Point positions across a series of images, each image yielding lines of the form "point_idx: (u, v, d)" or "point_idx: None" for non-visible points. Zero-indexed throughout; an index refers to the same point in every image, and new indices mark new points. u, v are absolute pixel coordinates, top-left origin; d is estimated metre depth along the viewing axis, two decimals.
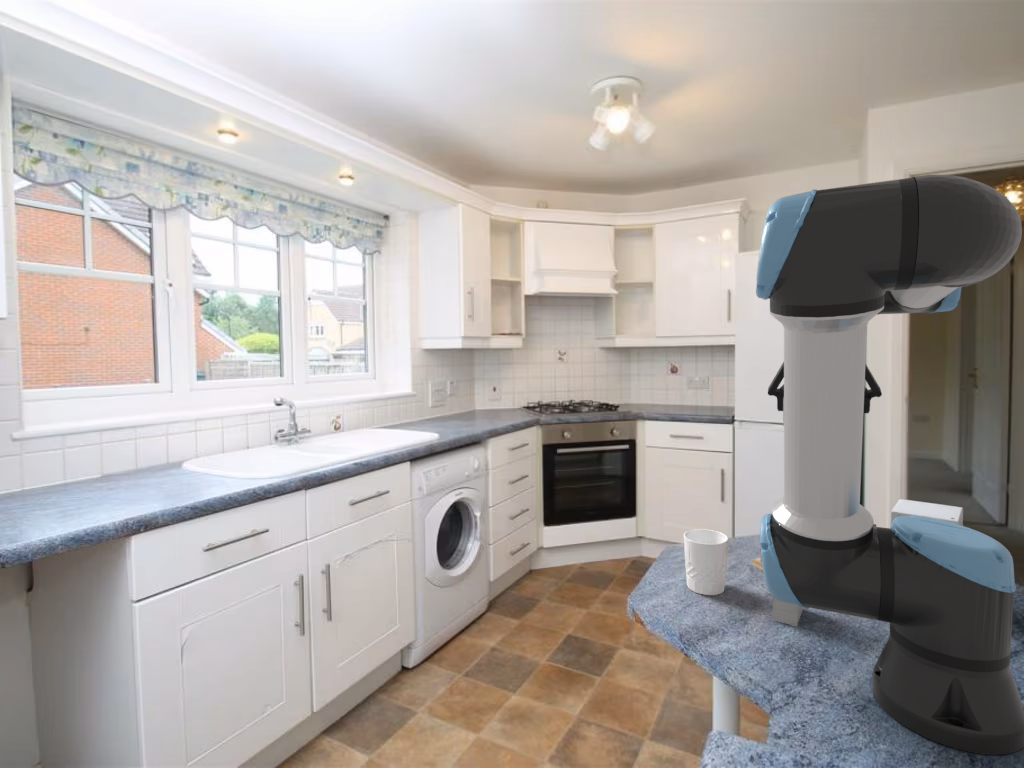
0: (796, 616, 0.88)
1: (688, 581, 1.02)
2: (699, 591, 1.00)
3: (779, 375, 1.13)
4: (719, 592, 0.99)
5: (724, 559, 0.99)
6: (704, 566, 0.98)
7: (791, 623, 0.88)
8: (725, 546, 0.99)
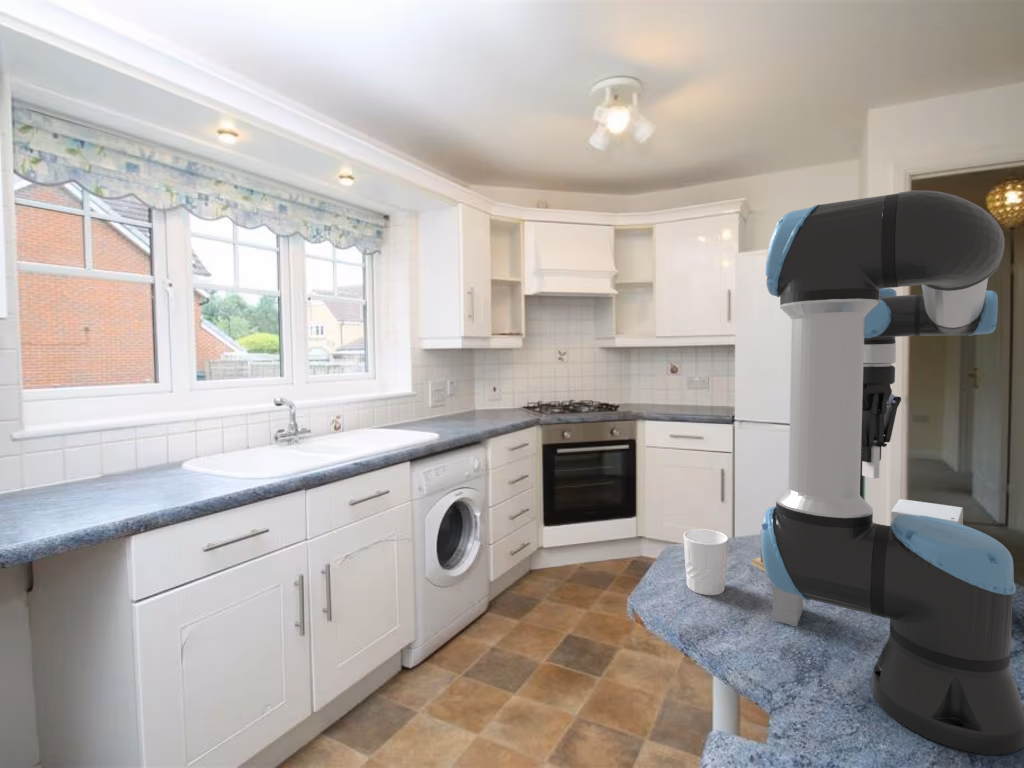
0: (796, 616, 0.88)
1: (688, 581, 1.02)
2: (699, 591, 1.00)
3: None
4: (719, 592, 0.99)
5: (724, 559, 0.99)
6: (704, 566, 0.98)
7: (791, 623, 0.88)
8: (725, 546, 0.99)
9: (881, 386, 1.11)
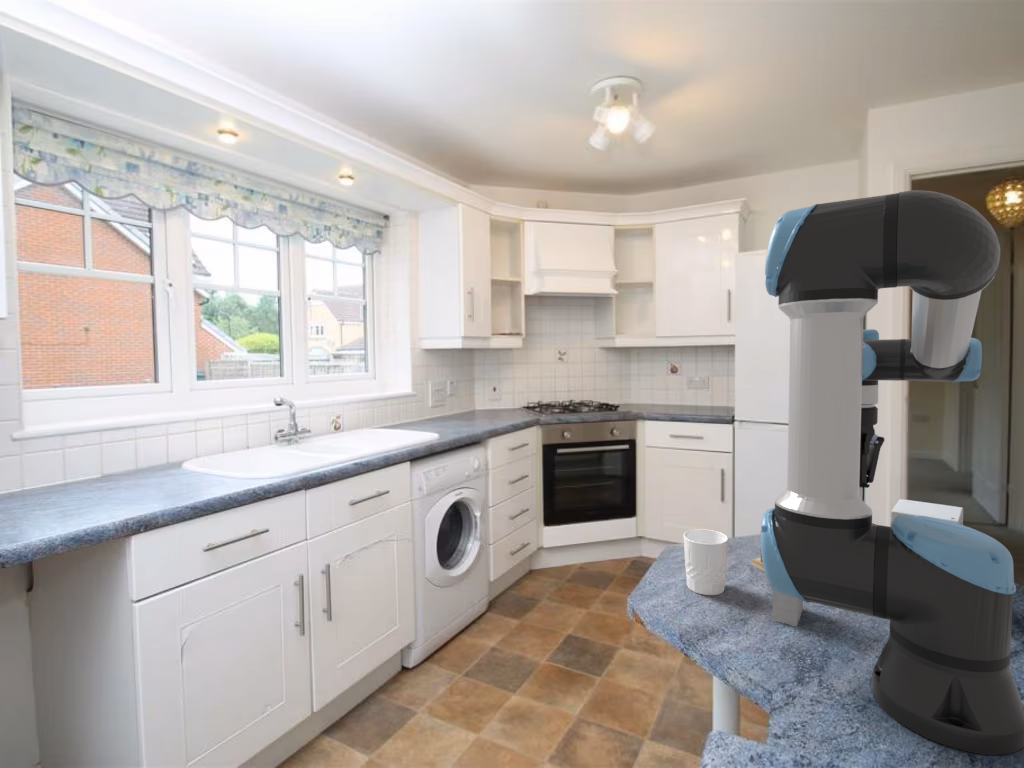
0: (796, 616, 0.88)
1: (688, 581, 1.02)
2: (699, 591, 1.00)
3: None
4: (719, 592, 0.99)
5: (724, 559, 0.99)
6: (704, 566, 0.98)
7: (791, 623, 0.88)
8: (725, 546, 0.99)
9: (864, 426, 1.10)
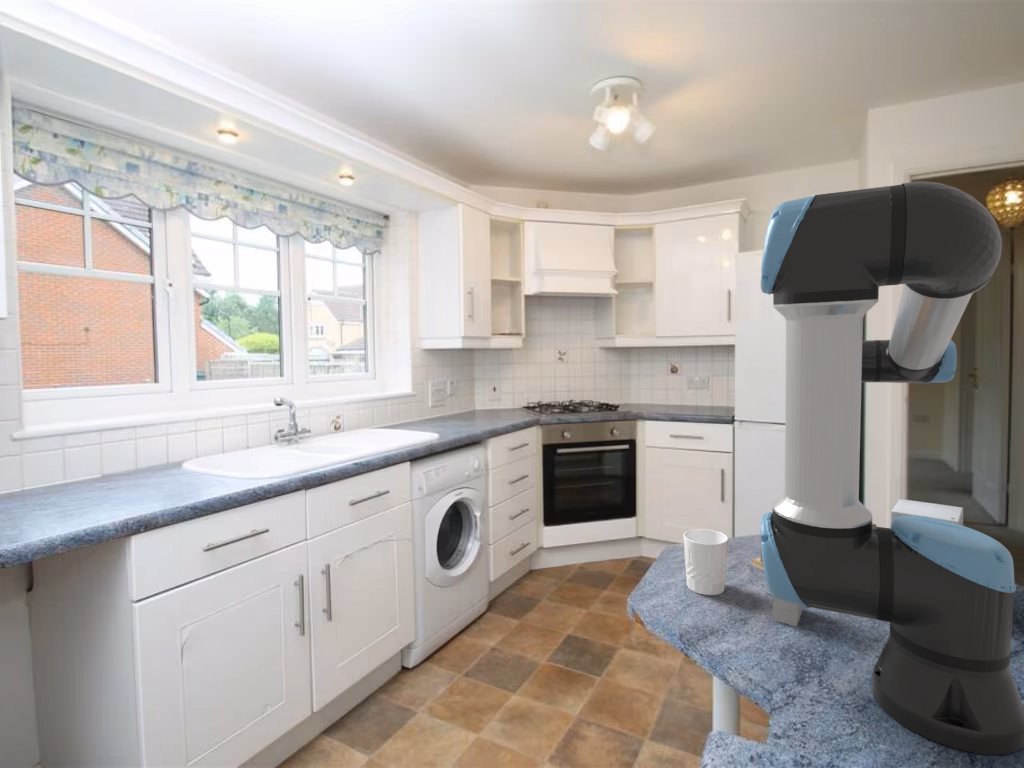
0: (796, 616, 0.88)
1: (688, 581, 1.02)
2: (699, 591, 1.00)
3: None
4: (719, 592, 0.99)
5: (724, 559, 0.99)
6: (704, 566, 0.98)
7: (791, 623, 0.88)
8: (725, 546, 0.99)
9: None
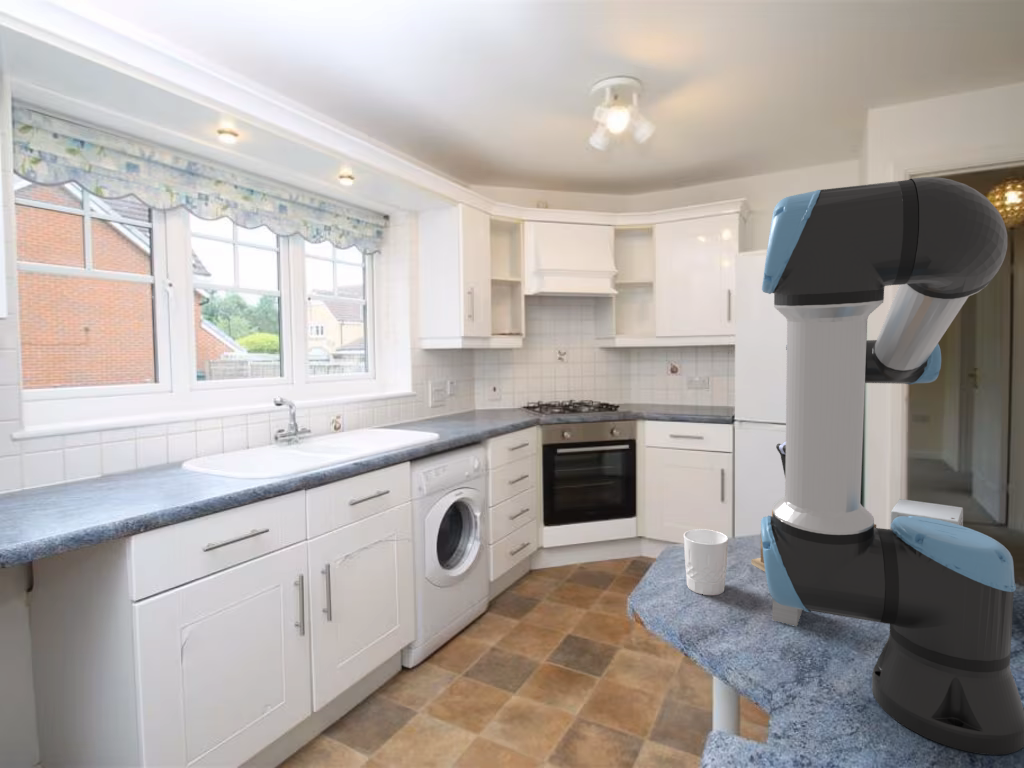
0: (796, 616, 0.88)
1: (688, 581, 1.02)
2: (699, 591, 1.00)
3: None
4: (719, 592, 0.99)
5: (724, 559, 0.99)
6: (704, 566, 0.98)
7: (791, 623, 0.88)
8: (725, 546, 0.99)
9: None
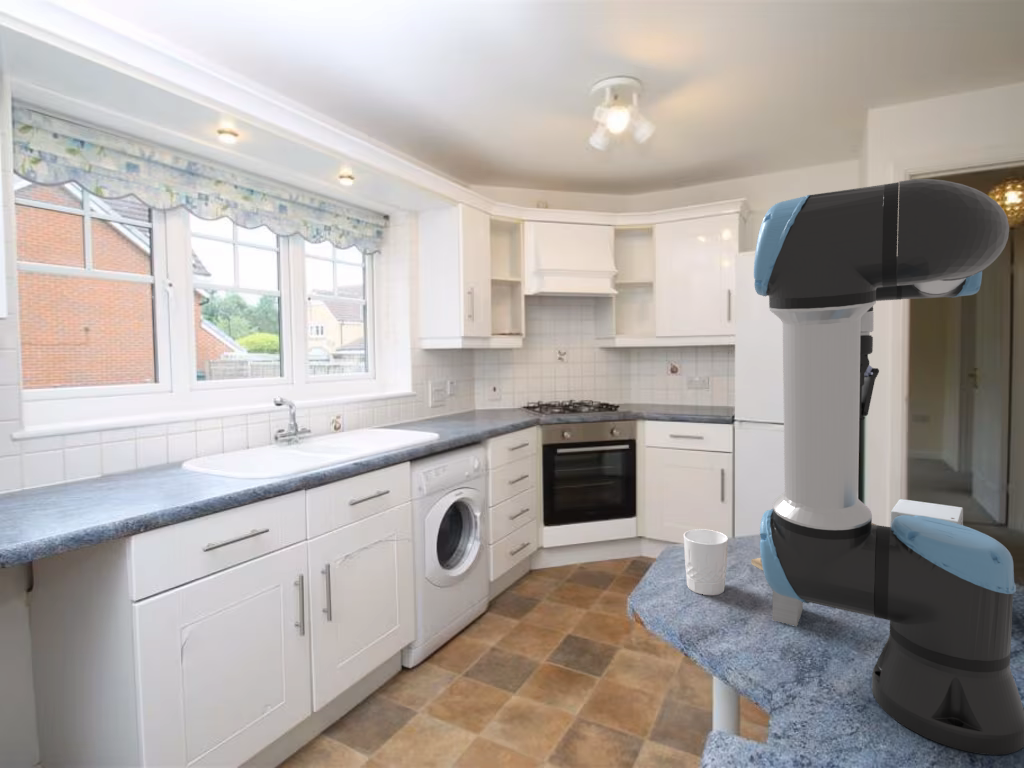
0: (796, 616, 0.88)
1: (688, 581, 1.02)
2: (699, 591, 1.00)
3: None
4: (719, 592, 0.99)
5: (724, 559, 0.99)
6: (704, 566, 0.98)
7: (791, 623, 0.88)
8: (725, 546, 0.99)
9: None
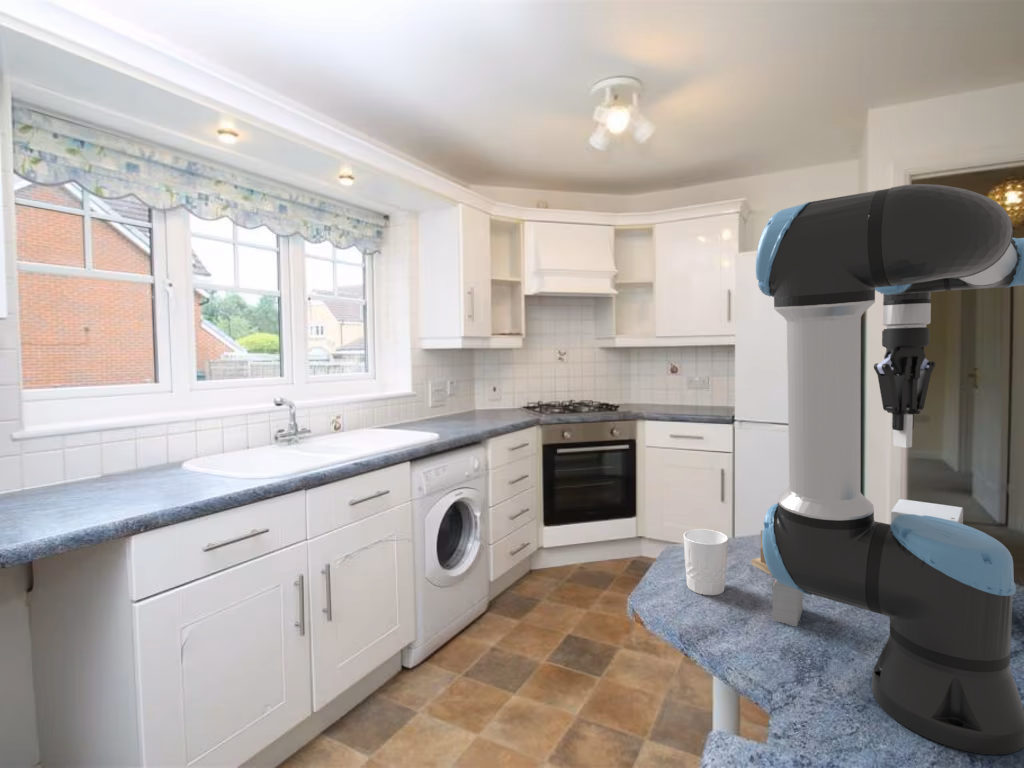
0: (796, 616, 0.88)
1: (688, 581, 1.02)
2: (699, 591, 1.00)
3: (892, 387, 1.04)
4: (719, 592, 0.99)
5: (724, 559, 0.99)
6: (704, 566, 0.98)
7: (791, 623, 0.88)
8: (725, 546, 0.99)
9: (914, 349, 1.05)
